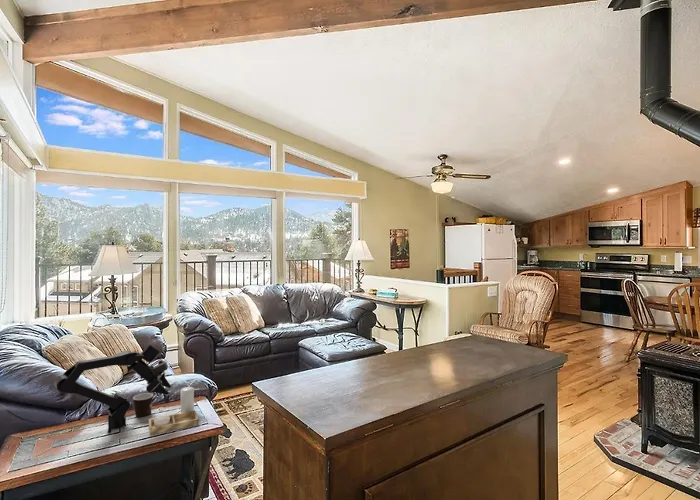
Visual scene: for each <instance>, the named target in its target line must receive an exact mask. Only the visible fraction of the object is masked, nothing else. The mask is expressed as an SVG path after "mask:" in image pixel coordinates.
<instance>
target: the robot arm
mask: <svg viewBox="0 0 700 500" xmlns="http://www.w3.org/2000/svg"><path fill="white" fill-rule="evenodd" d="M160 354H161V352H160V350H158V349H156V348H155V347H153V345H151V344H148V345H147V346H146V347H145V348H144V349H143V350H142V351H141V352H138V351H137V352H135V351H131V350H124V351H120V352H118V353H116V354H113V355H109V356H104V357H102V356H101V357H98V358H92V359H91V358H90V359H86V360H85V359H84V360H78V361H76V362H75V364H73V365H72V366H71V367H69V368H68V369H67V370H65V371H64V373H62V374H61V375H58V376H57V377H56V378H55V380H54V382H53V385H54V387H55V388H56V389H57V391H58V392H60V393H65V394H74V395H79V396H82V397H84V398H88V399H90V400H93V401H95V402H99V403H101V404H103V405H106V406H108V407H107V409H106V412H107V414H108V417H107V434H110V433H112V430H117V429H120V428H123V427H126V426H127V416H126V413H127V411H128V410H129V409H130V407H131V404H130V401H129V400H128V398H127V397H126V396H125V395H124V394H119V393H118V392H115V393H114V394H109V393H106V392H103V391H100V390H98V389H96V388H92V387H90V386H87V385H85V384H82V383H80V382H78V380H79V378H80V376H81V375H82V374H83V373H84V372H85V371H88V370H89V371H90V370H95V369H100V368H101V369H102V368H106V367H111V366H122V367H123V366H125V367H126V372H127V373H130V372H131V371H133V372H134V373H135V374H137V375H138V376H139V379H141V380H142V379H143V380H144V381H146V384H147V386H146V391H147V393H151V394H153V393H155V394H159V395H165V396H167V395H169V393H170V392H169V391H168V390H167V389H170V388H171V387H172V385H171V384H170V383H169V381H168V379H167V378H166V372H165V371H167V370H168V368H169V365H168V363H167V361H165V360H163V359H161V360H159V361H158V362H157V364H156V365H155V366H153V365H149V363H152V362H154V360H156V358H157V357H158V356H159V355H160ZM147 363H148V364H147ZM166 388H167V389H166Z"/></svg>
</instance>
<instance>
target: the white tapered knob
mask: <svg viewBox="0 0 700 500" xmlns="http://www.w3.org/2000/svg"><path fill="white" fill-rule="evenodd" d="M193 410H195V388H194V387H192V386H187V387H183V388H182V387H181V389H180V413H183V412H188V411H193Z"/></svg>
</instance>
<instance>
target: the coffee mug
mask: <svg viewBox="0 0 700 500" xmlns="http://www.w3.org/2000/svg"><path fill="white" fill-rule="evenodd" d="M132 399H133V401H132V402H133V407H134V414H135V417H136V418H139V419H140V418H145V417H148V416H150V415H151V414H152V408H153V399H154V395H153V393H151V392H150V393H149V392H146V393H139V394H136V395H134V396H133V397H132Z"/></svg>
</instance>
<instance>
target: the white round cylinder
mask: <svg viewBox="0 0 700 500" xmlns="http://www.w3.org/2000/svg"><path fill="white" fill-rule="evenodd" d="M154 418H155V419H154V427H159V426H164V425H169V424H170V416H168V415H167V414H164V415H158V416H156V417H154Z"/></svg>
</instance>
